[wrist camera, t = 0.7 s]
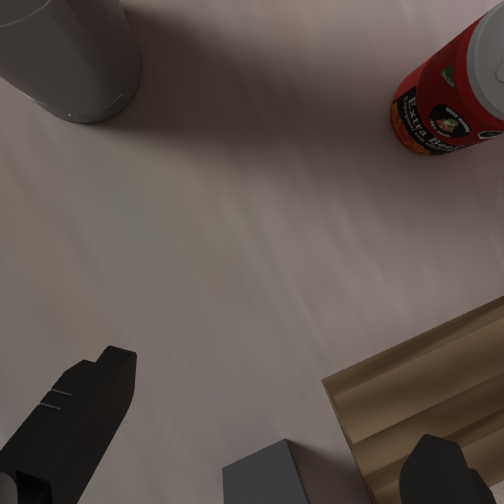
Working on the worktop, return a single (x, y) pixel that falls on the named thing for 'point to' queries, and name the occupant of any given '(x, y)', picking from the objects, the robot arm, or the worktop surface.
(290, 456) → the grey rectangular block
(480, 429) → the brown grooved block
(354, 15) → the worktop surface
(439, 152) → the canned food
